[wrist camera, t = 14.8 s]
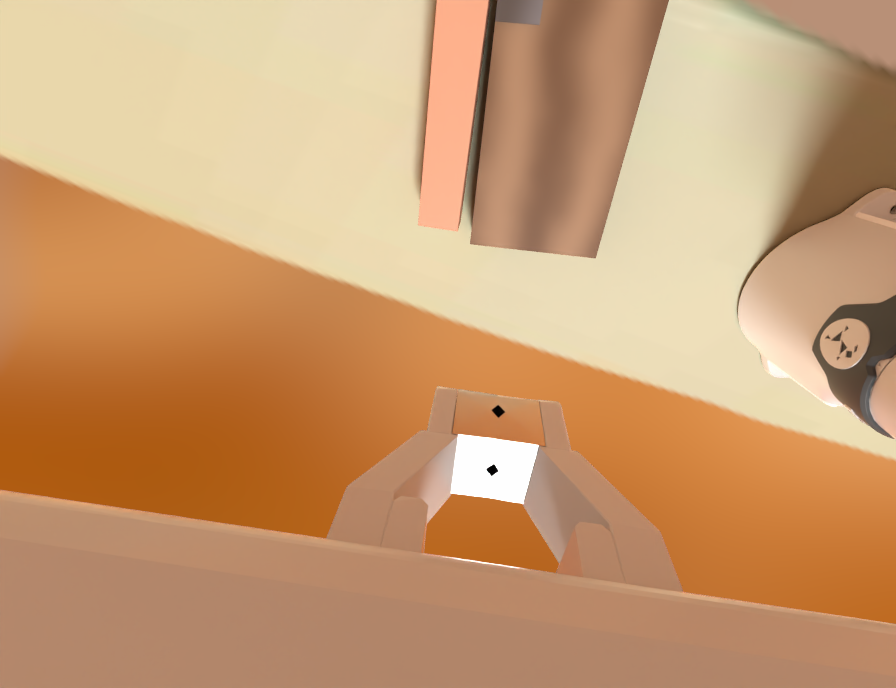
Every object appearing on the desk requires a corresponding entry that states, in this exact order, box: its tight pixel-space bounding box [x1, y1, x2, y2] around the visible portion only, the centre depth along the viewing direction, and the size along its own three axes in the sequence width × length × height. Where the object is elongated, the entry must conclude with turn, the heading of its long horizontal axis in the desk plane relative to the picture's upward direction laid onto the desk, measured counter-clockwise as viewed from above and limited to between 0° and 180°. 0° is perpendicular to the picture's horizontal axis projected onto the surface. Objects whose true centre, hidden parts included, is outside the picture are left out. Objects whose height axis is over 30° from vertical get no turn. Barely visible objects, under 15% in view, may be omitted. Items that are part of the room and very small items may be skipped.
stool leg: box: [418, 0, 490, 231], centre depth 32 cm, size 18×4×4 cm, turn 173°
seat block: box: [470, 0, 669, 258], centre depth 32 cm, size 11×20×4 cm, turn 175°
